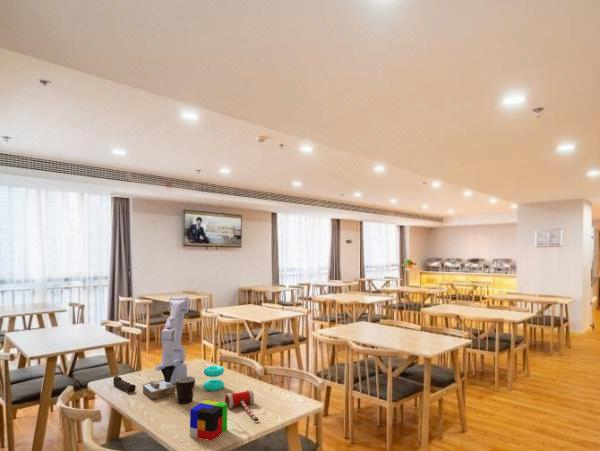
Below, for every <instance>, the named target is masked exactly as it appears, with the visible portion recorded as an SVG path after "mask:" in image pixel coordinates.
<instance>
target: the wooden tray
mask: <svg viewBox="0 0 600 451" xmlns="http://www.w3.org/2000/svg"><path fill="white" fill-rule="evenodd" d="M155 381H156V380H155ZM160 381H165V379H161V380H157V381H156V382H160ZM146 384H151V382H147V383H143V384H142V393H143V394H144V395H145V396H146V397H147V398H149V399H150V400H152V401H153V400H154V401H155V400H158V399H162V398H163V399H164V398H166V397H171V396H174V395H176V389H177V388H176V385H173V386H174V387H170V388H165V389H161V390H157V391H152V393H151V392H150V391H149V390H147V389H146V388H145V387H143V385H146Z"/></svg>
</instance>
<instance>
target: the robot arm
mask: <svg viewBox="0 0 600 451" xmlns="http://www.w3.org/2000/svg"><path fill="white" fill-rule="evenodd" d="M189 306H190V298H189V297H188V296H170V298H169V300H168V307H169V310H170V314H169V317H168V318H166V321H165V324H164V328H163V329H162V330H161V332H160V340H161V349H162V350H161V361H160V363H159V364H158V365H155V367H154V368H155V370H154V371H157V372H159V371H161V373H162V374H163V378H164V379H163V380H165V382H169V383H170V384H172V385H174V384H175V385H176V379H178V378H180V377H186V376H188V367H187V364H186V362H185V360H186V348H185V347H184V345H182V336H183V325H184V318H185V314H188V312H189Z"/></svg>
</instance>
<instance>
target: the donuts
mask: <svg viewBox="0 0 600 451" xmlns="http://www.w3.org/2000/svg"><path fill="white" fill-rule="evenodd" d="M224 373H225V368H224V367H223V366H221V365H209V366H207V367H205V368H204V370H203V375H205V376H206V377H209V378H213V379H208V380H207V381H205V382H204V384H203V389H204V390H206V391H208V392H209V391H210V392H216V391H220V390H222V389H223V388H224V386H225V383H224V381H223V380H221V379H218V378H217V377H220V376H221V375H223V374H224Z"/></svg>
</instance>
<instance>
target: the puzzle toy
mask: <svg viewBox="0 0 600 451" xmlns="http://www.w3.org/2000/svg"><path fill="white" fill-rule="evenodd" d="M189 414H190V415H189V418H190V419H189V437H191V438H195V437H196V438H195V439H200V438H202V439H201V440H204V439H208V440H207V441H209V440H213V439H215V438H216V437H217V438H219V435H220V434H221V433H222V432H223V433H225V432H226V431H227V430H228V408H227V403H225V402H222V401H221V402H219V401H214V400H208V399H205V400H203V401H201V402H200V403H198V404H196V405H195V406H194V407H192V408H190V411H189ZM226 429H227V430H226ZM225 430H226V431H225ZM224 431H225V432H224ZM223 433H222V434H223ZM222 434H221V435H222ZM221 435H220V436H221ZM217 438H216V439H217ZM216 439H215V440H216ZM213 441H214V440H213Z"/></svg>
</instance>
